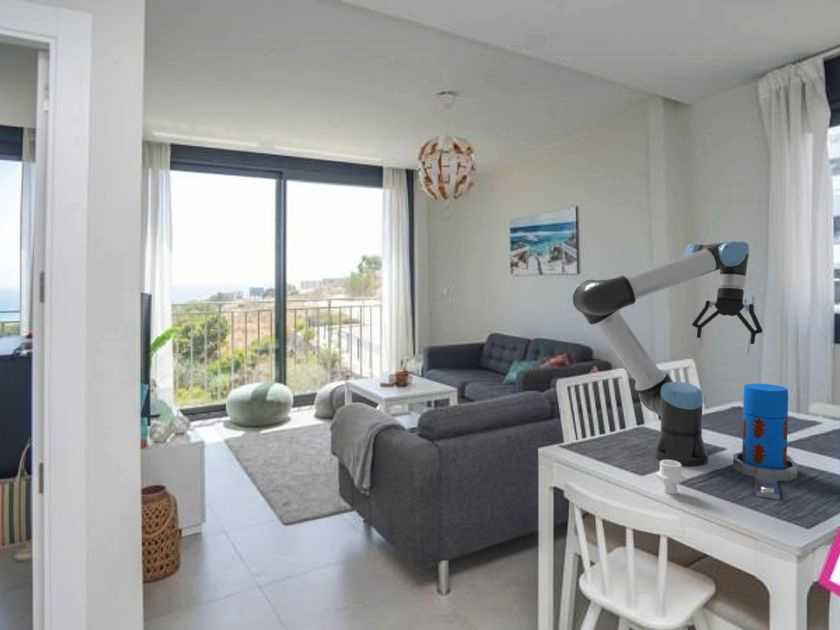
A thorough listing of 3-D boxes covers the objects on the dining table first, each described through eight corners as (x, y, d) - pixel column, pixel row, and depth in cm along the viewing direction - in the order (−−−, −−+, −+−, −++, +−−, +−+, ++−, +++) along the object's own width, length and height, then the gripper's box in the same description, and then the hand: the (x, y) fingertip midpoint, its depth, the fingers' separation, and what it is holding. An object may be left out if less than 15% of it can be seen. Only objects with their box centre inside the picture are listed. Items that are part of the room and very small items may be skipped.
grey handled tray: (732, 491, 135) (732, 481, 135) (733, 447, 170) (733, 439, 169) (805, 504, 127) (805, 492, 126) (790, 455, 161) (790, 446, 161)
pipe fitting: (688, 491, 136) (688, 462, 135) (676, 499, 131) (677, 469, 131) (663, 484, 140) (664, 456, 140) (652, 492, 136) (652, 463, 135)
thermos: (779, 480, 142) (781, 392, 140) (736, 470, 150) (738, 387, 148) (790, 470, 149) (793, 387, 147) (749, 461, 157) (751, 382, 155)
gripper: (774, 292, 166) (767, 355, 167) (689, 286, 179) (682, 345, 179) (777, 290, 160) (769, 356, 160) (688, 284, 172) (681, 346, 173)
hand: (723, 350), depth 170 cm, fingers open, 13 cm apart
